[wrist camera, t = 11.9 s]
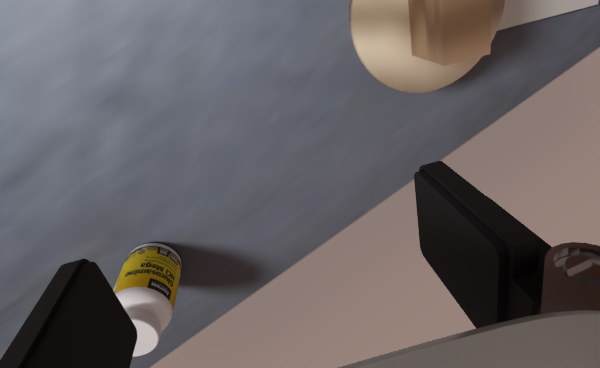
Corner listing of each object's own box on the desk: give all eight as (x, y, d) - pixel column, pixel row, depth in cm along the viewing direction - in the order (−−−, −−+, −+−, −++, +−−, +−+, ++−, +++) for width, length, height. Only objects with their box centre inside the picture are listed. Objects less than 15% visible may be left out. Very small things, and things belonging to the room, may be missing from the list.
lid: (337, -62, 28) (363, -76, 22) (502, -101, 28) (568, -125, 23) (360, 106, 34) (385, 128, 28) (496, 71, 34) (547, 85, 29)
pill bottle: (188, 247, 43) (175, 319, 34) (175, 287, 46) (159, 366, 36) (132, 235, 42) (101, 308, 32) (121, 277, 44) (89, 358, 34)
